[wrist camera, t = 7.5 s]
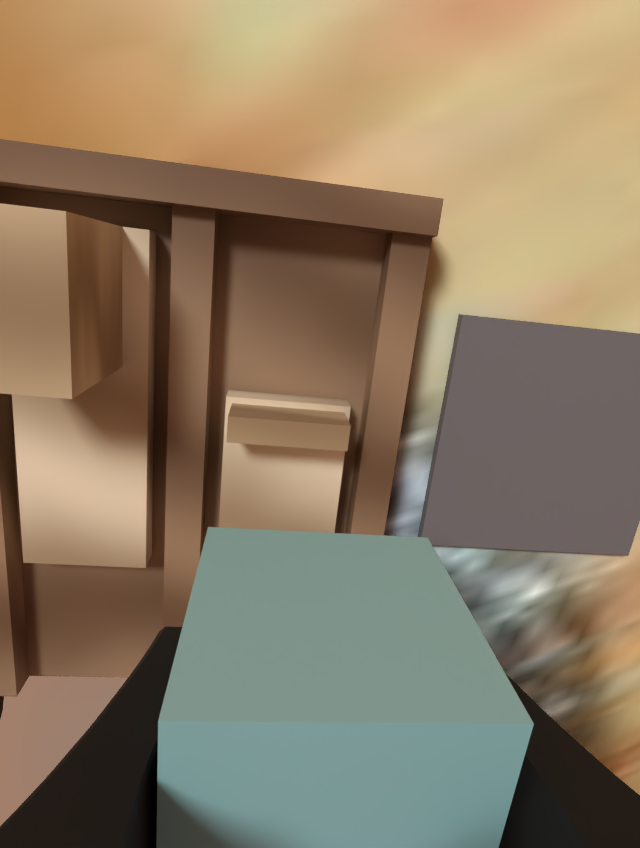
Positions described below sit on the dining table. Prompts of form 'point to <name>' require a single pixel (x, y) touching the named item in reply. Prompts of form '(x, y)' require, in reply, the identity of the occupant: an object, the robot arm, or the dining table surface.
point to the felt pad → (537, 440)
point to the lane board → (218, 371)
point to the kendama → (1, 704)
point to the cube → (333, 701)
